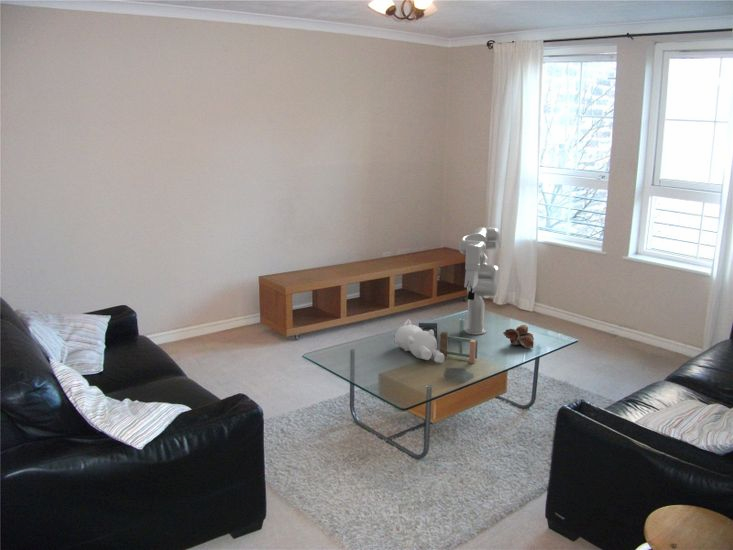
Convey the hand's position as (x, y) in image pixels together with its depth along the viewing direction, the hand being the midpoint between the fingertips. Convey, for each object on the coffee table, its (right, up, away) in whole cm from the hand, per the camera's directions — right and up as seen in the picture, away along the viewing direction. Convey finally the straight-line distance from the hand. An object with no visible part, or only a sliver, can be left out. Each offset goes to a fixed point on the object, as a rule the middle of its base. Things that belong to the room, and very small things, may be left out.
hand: (471, 299), depth 361 cm
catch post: (-2, -32, -16) cm, 36 cm away
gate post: (-16, -31, -10) cm, 36 cm away
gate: (-8, -30, -11) cm, 33 cm away
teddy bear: (-30, -30, -5) cm, 42 cm away
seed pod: (+29, -26, +7) cm, 40 cm away
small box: (-22, -25, +13) cm, 36 cm away
